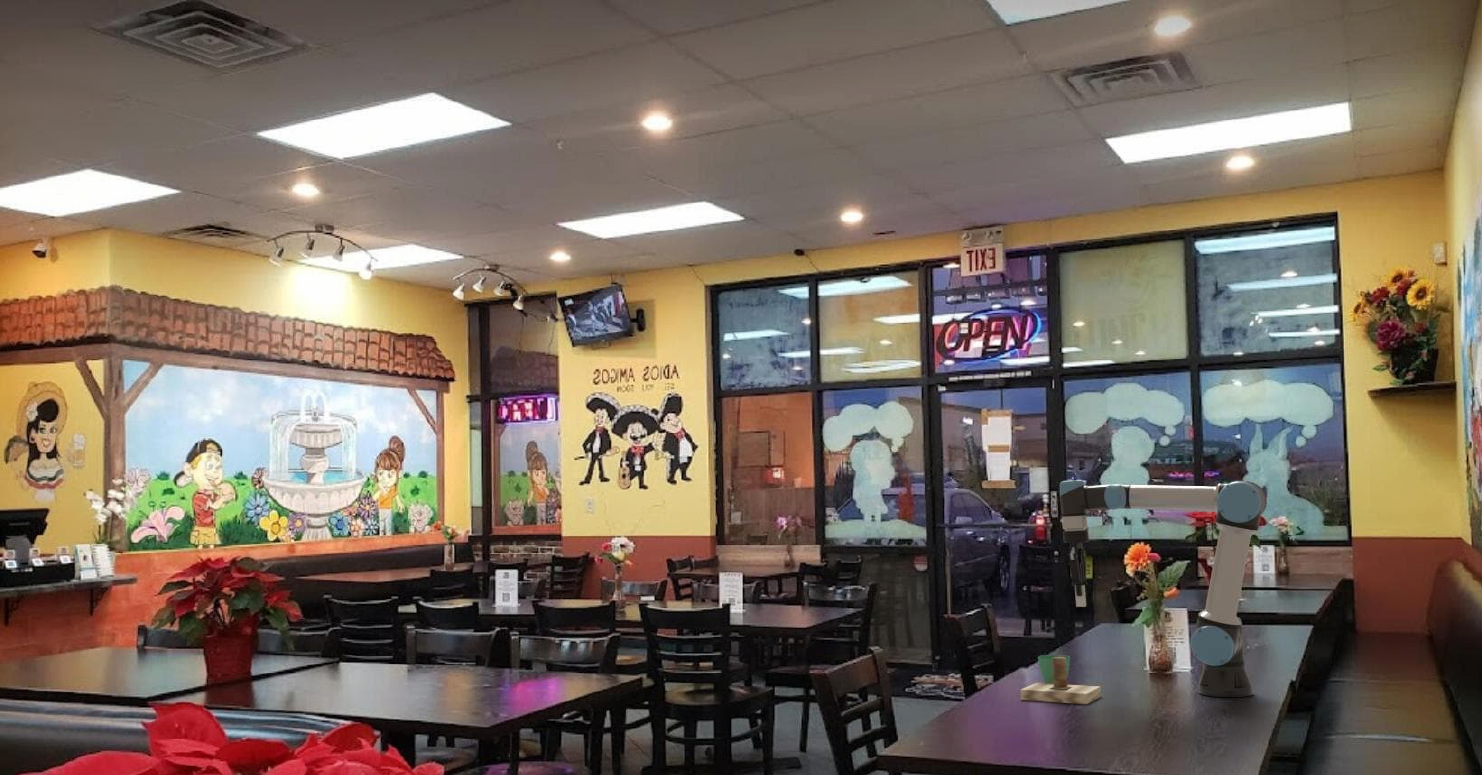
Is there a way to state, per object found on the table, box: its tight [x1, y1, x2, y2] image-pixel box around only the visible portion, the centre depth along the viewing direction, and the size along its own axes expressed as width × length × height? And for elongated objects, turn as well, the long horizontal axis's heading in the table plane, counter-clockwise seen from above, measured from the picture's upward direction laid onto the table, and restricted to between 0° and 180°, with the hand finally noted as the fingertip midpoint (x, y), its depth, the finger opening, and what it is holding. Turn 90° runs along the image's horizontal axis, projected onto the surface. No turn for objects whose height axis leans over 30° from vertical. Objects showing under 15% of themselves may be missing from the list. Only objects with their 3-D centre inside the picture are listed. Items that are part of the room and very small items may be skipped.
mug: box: [1037, 654, 1071, 684], centre depth 381 cm, size 15×10×10 cm
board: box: [1020, 682, 1102, 705], centre depth 362 cm, size 20×14×3 cm
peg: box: [1052, 657, 1068, 690], centre depth 363 cm, size 4×4×12 cm
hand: (1081, 606), depth 371 cm, fingers closed
